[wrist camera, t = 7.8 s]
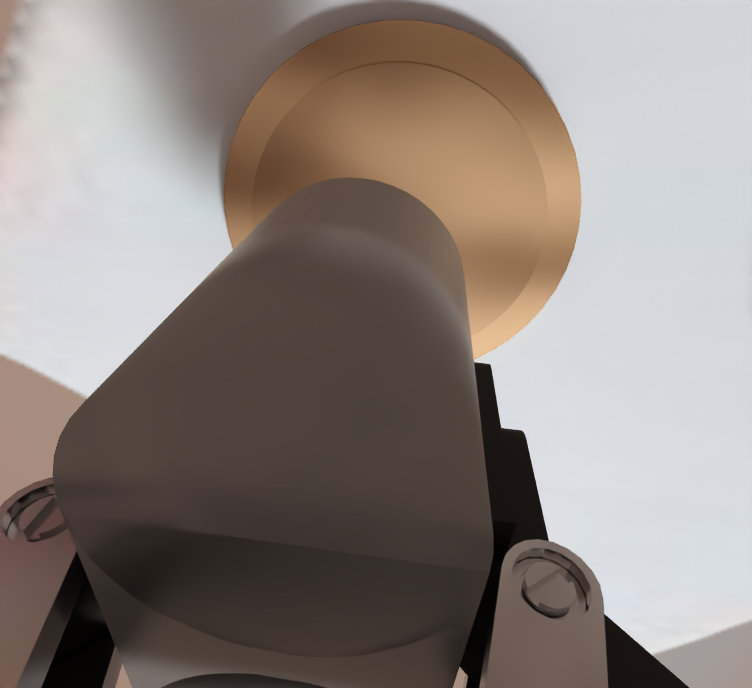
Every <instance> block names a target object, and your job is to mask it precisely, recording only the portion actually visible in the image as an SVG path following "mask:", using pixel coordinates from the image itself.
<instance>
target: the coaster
mask: <svg viewBox="0 0 752 688" xmlns="http://www.w3.org/2000/svg"><path fill="white" fill-rule="evenodd" d="M345 177H347V178H364V179H370V180H376V181H380V182H383V183H386V184H390V185H393V186H395V187H397V188H399V189H401V190H403V191H406V192H407V193H409V194H411V195H412V196H414V197H415V198H417V199H419V200H420V201H421V202H422V203H424V204H425V205H426V206H427V207H428V208H430V209H431V210H432V211H433V212H434V213H435V214H436V215H437V217H438V218H439V219H440V220H441V221H442V222H443V224H444V225H445V227H446V228H447V229H448V231H449V232H450V234H451V236H452V238H453V240H454V242H455V244H456V246H457V248H458V251H459V254H460V257H461V260H462V265H463V271H464V278H465V287H466V296H467V304H468V313H469V322H470V331H471V340H472V349H473V358H474V359H476V358H479V357H480V356H482V355H484V354H486V353H488V352H490V351H492V350H494V349H496V348H497V347H499V346H500V345H502V344H503V343H505V342H506V341H508V340H509V339H511V338H512V337H513V336H515V335H516V334H517V333H518V332H519V331H520V330H522V329H523V328H524V327H525V326H526V325H527V324H528V323H529V322H530V321H531V320H532V319H533V318H534V317H535V316H536V315H537V314H538V313H539V311H540V310H541V309H542V308H543V307H544V305H545V304H546V303H547V301H548V300H549V298H550V297H551V296H552V294H553V293H554V291H555V290H556V288H557V286H558V284H559V282H560V280H561V278H562V277H563V275H564V273H565V271H566V269H567V266H568V263H569V261H570V258H571V255H572V253H573V250H574V246H575V242H576V237H577V233H578V229H579V222H580V211H581V187H580V175H579V170H578V164H577V159H576V154H575V151H574V148H573V145H572V142H571V139H570V136H569V133H568V131H567V128H566V126H565V124H564V122H563V120H562V118H561V116H560V115H559V113H558V111H557V109H556V107H555V105H554V104H553V102H552V101H551V99H550V98H549V97H548V95H547V94H546V93H545V91H544V90H543V89H542V87H541V86H540V85H539V83H538V82H537V81H536V80H535V79H534V78H533V77H532V76H531V75H530V74H529V73H528V72H527V71H526V70H525V69H524V68H523V67H522V66H521V65H520V64H519V63H518V62H516V61H515V60H514V59H512V58H511V57H509V56H508V55H507V54H505V53H504V52H503V51H501V50H500V49H498V48H497V47H496V46H494V45H492V44H490V43H488V42H486V41H484V40H482V39H480V38H478V37H476V36H474V35H472V34H470V33H467V32H464V31H461V30H458V29H455V28H452V27H449V26H446V25H442V24H436V23H430V22H424V21H417V20H384V21H378V22H371V23H365V24H359V25H356V26H353V27H350V28H346V29H343V30H340V31H337V32H334V33H332V34H330V35H328V36H326V37H324V38H322V39H320V40H318V41H316V42H314V43H312V44H310V45H308V46H307V47H305V48H304V49H302V50H301V51H299V52H298V53H297V54H295V55H294V56H292V57H291V58H290V59H288V60H287V61H286V62H285V63H284V64H283V65H282V66H281V67H280V68H279V69H278V70H276V71H275V72H274V73H273V74H272V75H271V76H270V77H269V78H268V79H267V81H266V82H265V83H264V85H263V86H262V87H261V88H260V90H259V91H258V92H257V94H256V95H255V96H254V98H253V99H252V101H251V102H250V104H249V106H248V108H247V110H246V111H245V113H244V115H243V117H242V119H241V120H240V123H239V125H238V128H237V131H236V133H235V136H234V138H233V141H232V144H231V148H230V152H229V157H228V161H227V165H226V174H225V184H224V204H225V216H226V223H227V229H228V234H229V238H230V241H231V245H232V248H233V250H234V249H235V248H236V247H237V246H238V245H239V244H240V243H241V242H242V241H243V240H244V239H245V238H246V237H247V236H248V235H249V234H250V233H251V232H252V231H253V230H254V229H255V228H256V226H257V225H258V224H259V223H260V222H261V221H262V220H263V219H264V218H265V217H266V216H267V215H268V214H269V213H270V212H271V211H272V210H273V209H274V208H275V207H276V206H277V205H278V204H279V203H281V202H282V201H283V200H284V199H286V198H287V197H288V196H289V195H291V194H293V193H294V192H296V191H298V190H300V189H301V188H304V187H306V186H308V185H311V184H313V183H316V182H320V181H324V180H328V179H335V178H345Z"/></svg>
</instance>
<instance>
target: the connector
mask: <svg viewBox="0 0 752 688" xmlns="http://www.w3.org/2000/svg"><path fill="white" fill-rule="evenodd" d="M53 480H54V488H55V494H56V498H57V501H58V504H59V507H60V510H61V513H62V516H63V518H64V521H65V523H66V526H67V528H68V530H69V533H70V535H71V538H72V540H73V543H74V545H75V548H76V550H77V553H78V555H79V557H80V560H81V562H82V565H83V567H84V570H85V572H86V575H87V577H88V580H89V582H90V585H91V587H92V589H93V592H94V594H95V597H96V599H97V602H98V604H99V607H100V609H101V612H102V614H103V616H104V619H105V621H106V624H107V626H108V629H109V631H110V634H111V636H112V639H113V641H114V644H115V646H116V648H117V651H118V653H119V656H120V658H121V661H122V663H123V666H124V668H125V670H126V673H127V675H128V678H129V680H130V683H131V685H132V688H453V685H454V682H455V679H456V675H457V672H458V669H459V666H460V663H461V660H462V657H463V654H464V651H465V648H466V644H467V641H468V638H469V635H470V632H471V629H472V626H473V623H474V620H475V616H476V613H477V610H478V607H479V604H480V601H481V598H482V595H483V592H484V589H485V585H486V582H487V579H488V576H489V573H490V568H491V564H492V559H493V527H492V518H491V509H490V500H489V491H488V483H487V474H486V465H485V456H484V447H483V438H482V429H481V420H480V411H479V402H478V394H477V385H476V376H475V367H474V358H473V349H472V340H471V331H470V322H469V313H468V304H467V296H466V287H465V278H464V271H463V265H462V260H461V257H460V254H459V251H458V248H457V246H456V244H455V242H454V240H453V238H452V236H451V234H450V232H449V231H448V229H447V228H446V227H445V225H444V224H443V222H442V221H441V220H440V219H439V218H438V217H437V215H436V214H435V213H434V212H433V211H432V210H431V209H430V208H428V207H427V206H426V205H425V204H424V203H422V202H421V201H420V200H419V199H417V198H415V197H414V196H412V195H411V194H409V193H407V192H406V191H403V190H401V189H399V188H397V187H395V186H393V185H390V184H386V183H383V182H380V181H376V180H370V179H364V178H347V177H345V178H335V179H328V180H324V181H320V182H316V183H313V184H311V185H308V186H306V187H304V188H301V189H300V190H298V191H296V192H294V193H293V194H291V195H289V196H288V197H287V198H286V199H284V200H283V201H282V202H281V203H279V204H278V205H277V206H276V207H275V208H274V209H273V210H272V211H271V212H270V213H269V214H268V215H267V216H266V217H265V218H264V219H263V220H262V221H261V222H260V223H259V224H258V225H257V226H256V228H255V229H254V230H253V231H252V232H251V233H250V234H249V235H248V236H247V237H246V238H245V239H244V240H243V241H242V242H241V243H240V244H239V245H238V246H237V247H236V248H235V249H234V250H233V251H232V252H231V253H230V254H229V255H228V256H227V257H226V258H225V259H224V260H223V261H222V262H221V263H220V264H219V265H218V266H217V267H216V268H215V269H214V270H213V271H212V272H211V273H210V274H209V275H208V276H207V277H206V278H205V279H204V281H203V282H202V283H201V284H200V285H199V286H198V287H197V288H196V289H195V290H194V291H193V292H192V293H191V294H190V295H189V296H188V297H187V298H186V299H185V300H184V301H183V302H182V303H181V304H180V305H179V306H178V307H177V308H176V309H175V310H174V311H173V312H172V313H171V314H170V315H169V316H168V317H167V318H166V319H165V320H164V321H163V322H162V323H161V324H160V325H159V326H158V327H157V328H156V329H155V330H154V331H153V333H152V334H151V335H150V336H149V337H148V338H147V339H146V340H145V341H144V342H143V343H142V344H141V345H140V346H139V347H138V348H137V349H136V350H135V351H134V352H133V353H132V354H131V355H130V356H129V357H128V358H127V359H126V360H125V361H124V362H123V363H122V364H121V365H120V366H119V367H118V368H117V369H116V370H115V371H114V372H113V373H112V374H111V375H110V376H109V377H108V378H107V379H106V380H105V381H104V382H103V383H102V384H101V386H100V387H99V388H98V389H97V390H96V391H95V392H94V393H93V394H92V395H91V396H90V397H89V398H88V399H87V400H86V401H85V402H84V403H83V404H82V405H81V406H80V407H79V409H78V410H77V411H76V412H75V413H74V414H73V415H72V417H71V418H70V419H69V421H68V422H67V425H66V426H65V428H64V430H63V431H62V433H61V435H60V437H59V440H58V444H57V447H56V451H55V454H54V464H53Z"/></svg>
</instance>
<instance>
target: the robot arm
mask: <svg viewBox="0 0 752 688" xmlns="http://www.w3.org/2000/svg"><path fill="white" fill-rule="evenodd" d="M474 367H475V376H476V385H477V394H478V402H479V411H480V420H481V429H482V438H483V447H484V456H485V465H486V474H487V483H488V491H489V500H490V509H491V518H492V527H493V559H492V564H491V568H490V573H489V576H488V579H487V582H486V585H485V589H484V592H483V595H482V598H481V601H480V604H479V607H478V610H477V613H476V616H475V620H474V623H473V626H472V629H471V632H470V635H469V638H468V641H467V644H466V648H465V651H464V654H463V657H462V660H461V663H460V667H461V668H462V670H463V671H464V672H465V679H464V685H463V688H689V687H688V686H687V685H685V684H684V683H683V682H682V681H681V680H680V679H679V678H677V677H676V676H675V675H674V674H673V673H672V672H670V671H669V670H668V669H667V668H666V667H665V666H664V665H662V664H661V663H660V662H659V661H658V660H657V659H656V658H654V657H653V656H652V655H651V654H650V653H649V652H648V651H646V650H645V649H644V648H643V647H642V646H641V645H639V644H638V643H637V642H636V641H635V640H634V639H633V638H631V637H630V636H629V635H628V634H627V633H626V632H625V631H623V630H622V629H621V628H620V627H619V626H618V625H616V624H615V623H614V622H613V621H612V620H611V619H610V618H608V617H607V616H606V615H605V614H604V604H603V596H602V592H601V588H600V584H599V582H598V581H597V579H596V577H595V575H594V573H593V571H592V570H591V569H590V568H589V567H588V566H587V565H586V563H585V562H584V561H583V560H582V559H581V558H580V557H578V556H577V555H576V554H574V553H573V552H571V551H570V550H569V549H567V548H565V547H563V546H560V545H558V544H556V543H554V542H549V540H548V535H547V531H546V526H545V522H544V517H543V513H542V508H541V504H540V499H539V495H538V490H537V486H536V481H535V477H534V472H533V468H532V463H531V459H530V454H529V450H528V445H527V440H526V437H525V434H524V432H523V431H520V430H512V429H504V428H501V425H500V419H499V413H498V406H497V400H496V394H495V388H494V382H493V376H492V370H491V365H490V364H484V363H475V362H474ZM121 666H122V661H121V658H120V656H119V653H118V651H117V648H116V646H115V644H114V641H113V639H112V636H111V634H110V631H109V629H108V626H107V624H106V621H105V619H104V616H103V614H102V612H101V609H100V607H99V604H98V602H97V599H96V597H95V594H94V592H93V589H92V587H91V585H90V582H89V580H88V577H87V575H86V572H85V570H84V567H83V565H82V562H81V560H80V557H79V555H78V553H77V550H76V548H75V545H74V543H73V540H72V538H71V535H70V533H69V530H68V528H67V526H66V523H65V521H64V518H63V516H62V513H61V510H60V507H59V504H58V501H57V498H56V494H55V488H54V480H53V477H52V478H47V479H44V480H41V481H38V482H35V483H33V484H31V485H29V486H27V487H25V488H23V489H21V490H19V491H17V492H16V493H15V494H14V495H12V496H11V497H10V498H9V499H7V500H6V501H5V502H4V503H3V504H2V505H1V507H0V688H115V686H116V683H117V679H118V676H119V673H120V669H121Z"/></svg>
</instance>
